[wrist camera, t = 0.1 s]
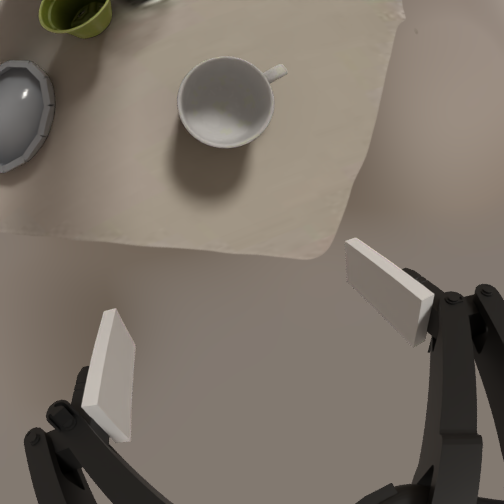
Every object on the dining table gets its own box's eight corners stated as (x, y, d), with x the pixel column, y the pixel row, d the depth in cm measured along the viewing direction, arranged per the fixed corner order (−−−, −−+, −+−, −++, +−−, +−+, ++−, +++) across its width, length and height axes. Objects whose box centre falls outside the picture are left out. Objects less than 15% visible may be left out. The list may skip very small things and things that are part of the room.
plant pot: (49, 34, 25) (24, 17, 18) (93, -15, 24) (78, -41, 16) (91, 60, 29) (72, 45, 22) (137, 9, 28) (130, -17, 20)
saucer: (-32, 93, 24) (-40, 93, 22) (47, 44, 26) (41, 41, 24) (-15, 185, 31) (-22, 188, 29) (65, 144, 33) (59, 145, 31)
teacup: (196, 157, 39) (200, 164, 32) (164, 87, 34) (162, 77, 27) (288, 119, 40) (312, 119, 32) (260, 51, 35) (279, 36, 27)
